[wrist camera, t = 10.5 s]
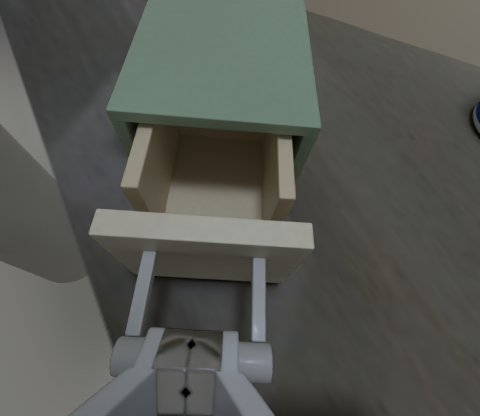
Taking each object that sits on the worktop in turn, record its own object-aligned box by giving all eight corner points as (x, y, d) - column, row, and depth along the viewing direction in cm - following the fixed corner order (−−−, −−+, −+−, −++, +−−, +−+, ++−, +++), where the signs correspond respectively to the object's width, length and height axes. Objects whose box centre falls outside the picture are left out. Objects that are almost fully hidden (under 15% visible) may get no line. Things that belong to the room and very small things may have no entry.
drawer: (284, 374, 15) (328, 391, 9) (114, 366, 14) (39, 380, 8) (277, 144, 22) (298, 70, 16) (166, 135, 22) (146, 56, 16)
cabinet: (284, 207, 20) (321, 127, 13) (147, 197, 20) (105, 109, 13) (280, 95, 26) (304, -4, 19) (173, 86, 26) (155, -19, 18)
